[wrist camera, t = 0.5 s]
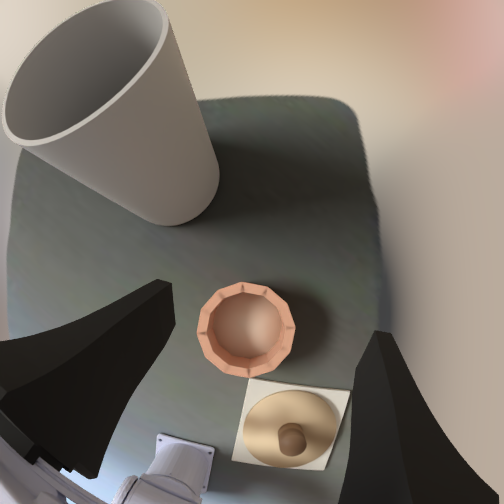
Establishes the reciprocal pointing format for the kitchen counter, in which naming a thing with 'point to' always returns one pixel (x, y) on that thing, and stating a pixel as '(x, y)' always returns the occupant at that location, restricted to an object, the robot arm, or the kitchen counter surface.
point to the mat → (266, 387)
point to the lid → (289, 428)
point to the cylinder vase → (116, 111)
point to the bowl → (246, 329)
